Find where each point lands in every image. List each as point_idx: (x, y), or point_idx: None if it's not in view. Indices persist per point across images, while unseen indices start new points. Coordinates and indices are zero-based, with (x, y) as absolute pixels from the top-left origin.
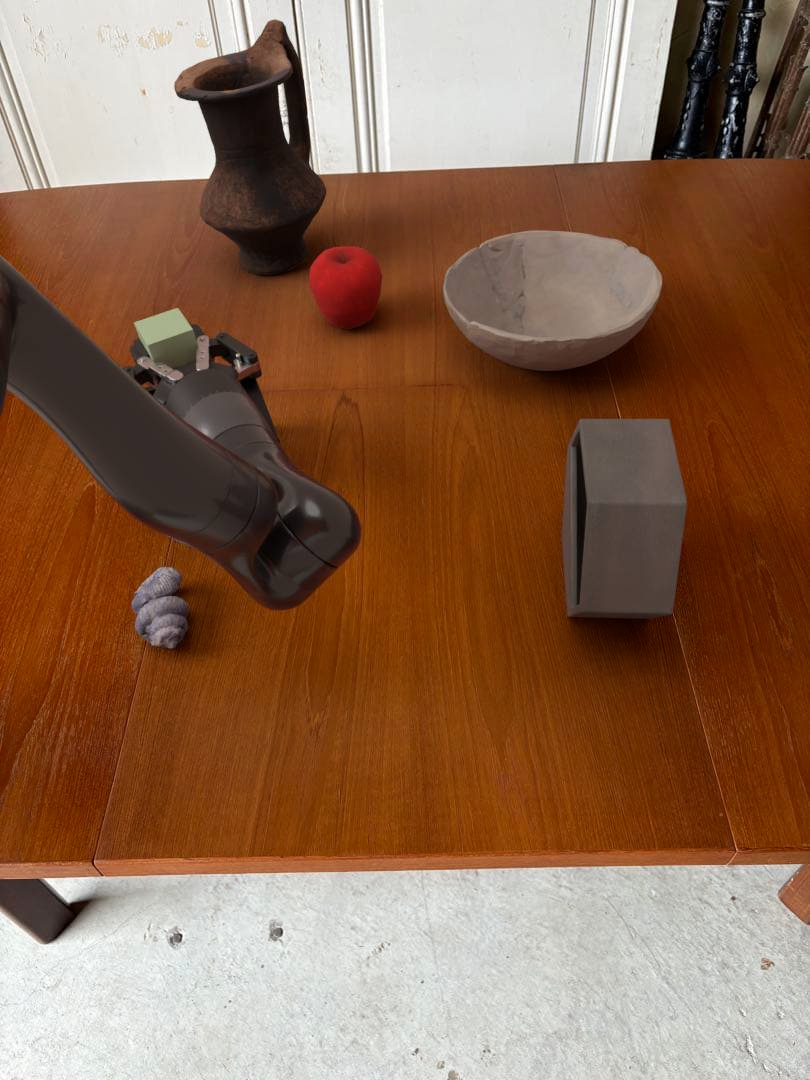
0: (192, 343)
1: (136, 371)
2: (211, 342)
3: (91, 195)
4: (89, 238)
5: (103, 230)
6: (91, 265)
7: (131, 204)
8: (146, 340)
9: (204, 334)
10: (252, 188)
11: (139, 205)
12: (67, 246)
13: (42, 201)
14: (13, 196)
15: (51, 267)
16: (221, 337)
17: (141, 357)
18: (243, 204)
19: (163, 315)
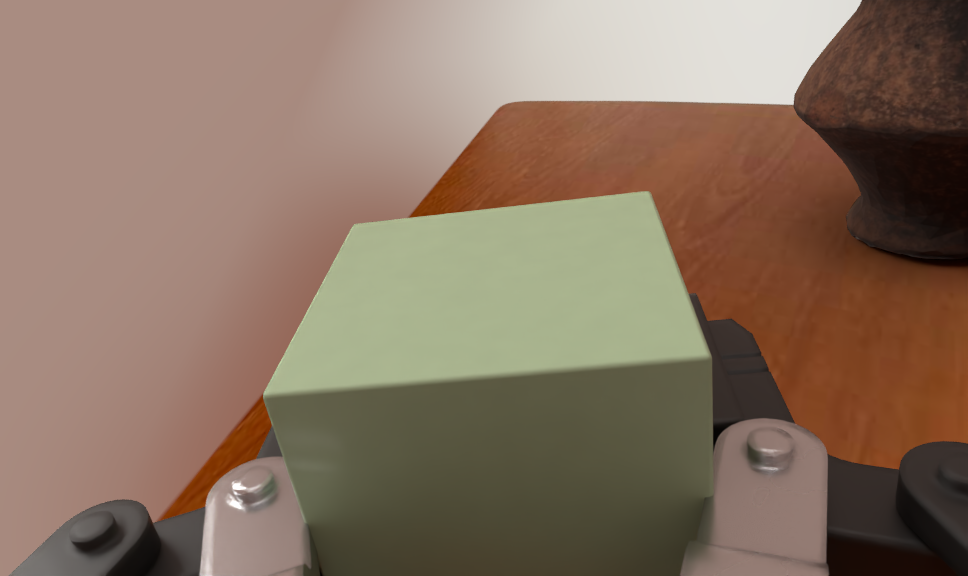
0: (669, 475)
1: (166, 564)
2: (839, 501)
3: (608, 110)
4: (577, 157)
5: (603, 150)
6: (559, 191)
7: (663, 124)
8: (293, 351)
9: (785, 408)
10: (959, 37)
11: (675, 126)
12: (538, 163)
13: (539, 111)
14: (507, 104)
15: (498, 186)
16: (963, 494)
17: (265, 460)
18: (922, 73)
19: (536, 216)
